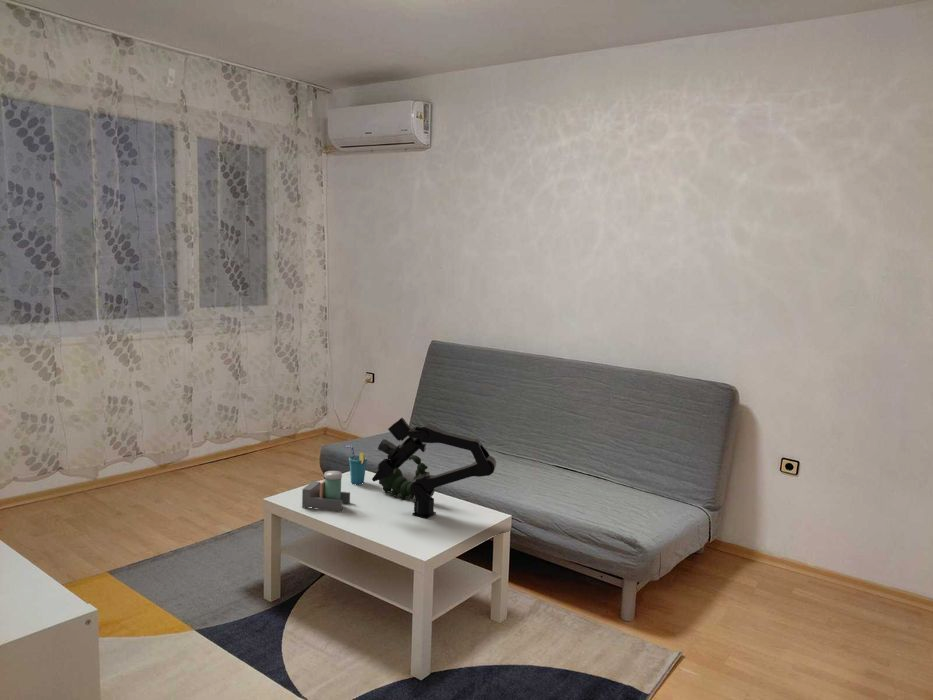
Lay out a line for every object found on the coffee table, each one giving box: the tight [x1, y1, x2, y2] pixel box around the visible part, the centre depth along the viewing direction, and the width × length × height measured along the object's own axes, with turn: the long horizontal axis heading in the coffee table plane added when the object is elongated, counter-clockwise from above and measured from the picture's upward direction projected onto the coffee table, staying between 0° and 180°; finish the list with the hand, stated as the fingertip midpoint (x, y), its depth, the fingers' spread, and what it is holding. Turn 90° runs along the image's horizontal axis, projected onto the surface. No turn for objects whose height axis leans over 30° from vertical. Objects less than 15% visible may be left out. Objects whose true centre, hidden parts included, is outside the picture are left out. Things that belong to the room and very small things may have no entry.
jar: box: [323, 470, 343, 500], centre depth 252 cm, size 6×6×12 cm
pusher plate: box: [320, 479, 325, 498], centre depth 253 cm, size 1×7×9 cm, turn 171°
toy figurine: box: [376, 454, 429, 500], centre depth 268 cm, size 9×19×25 cm
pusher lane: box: [301, 480, 351, 512], centre depth 253 cm, size 15×10×7 cm, turn 81°
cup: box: [345, 445, 368, 486], centre depth 281 cm, size 14×8×15 cm, turn 46°
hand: (376, 476), depth 249 cm, fingers open, 9 cm apart
